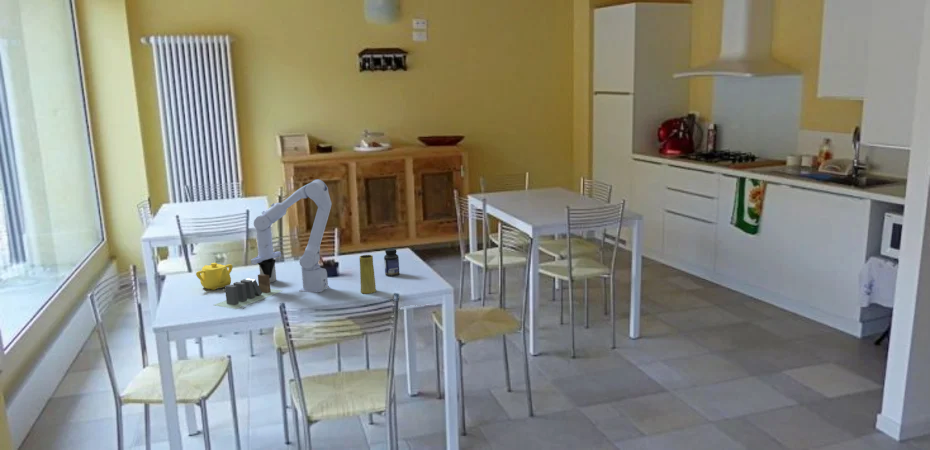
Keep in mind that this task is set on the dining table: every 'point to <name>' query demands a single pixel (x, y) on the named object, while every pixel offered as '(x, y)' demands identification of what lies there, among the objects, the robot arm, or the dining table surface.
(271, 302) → the dining table surface
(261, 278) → the domino
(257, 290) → the domino
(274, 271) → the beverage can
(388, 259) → the pill bottle
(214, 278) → the teapot
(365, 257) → the vase
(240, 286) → the domino
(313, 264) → the robot arm
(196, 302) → the dining table surface
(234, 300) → the domino
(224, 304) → the mat
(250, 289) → the domino
